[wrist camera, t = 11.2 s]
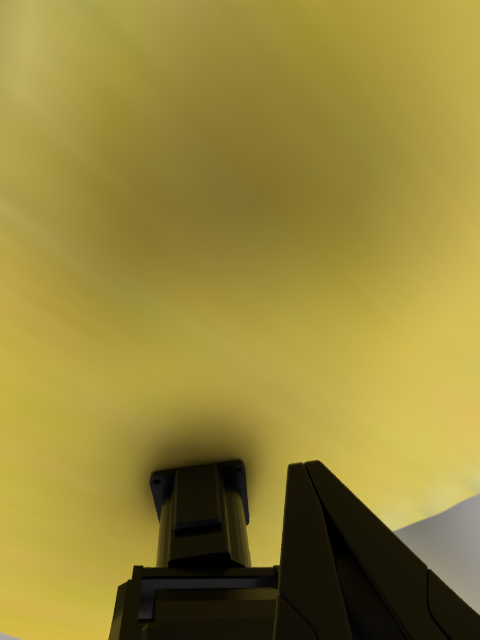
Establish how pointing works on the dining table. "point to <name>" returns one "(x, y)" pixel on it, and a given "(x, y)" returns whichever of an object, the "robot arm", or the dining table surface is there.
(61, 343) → the dining table surface
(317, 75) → the dining table surface
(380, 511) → the dining table surface
